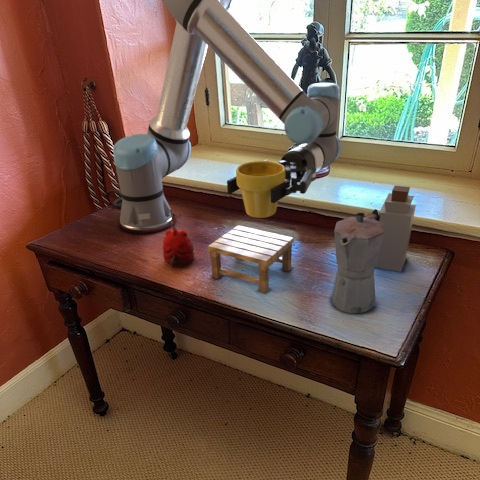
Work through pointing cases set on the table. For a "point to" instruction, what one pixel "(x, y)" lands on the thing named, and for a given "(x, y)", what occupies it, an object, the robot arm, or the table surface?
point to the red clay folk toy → (177, 246)
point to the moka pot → (357, 261)
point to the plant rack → (251, 253)
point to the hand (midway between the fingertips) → (249, 191)
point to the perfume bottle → (395, 228)
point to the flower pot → (259, 186)
